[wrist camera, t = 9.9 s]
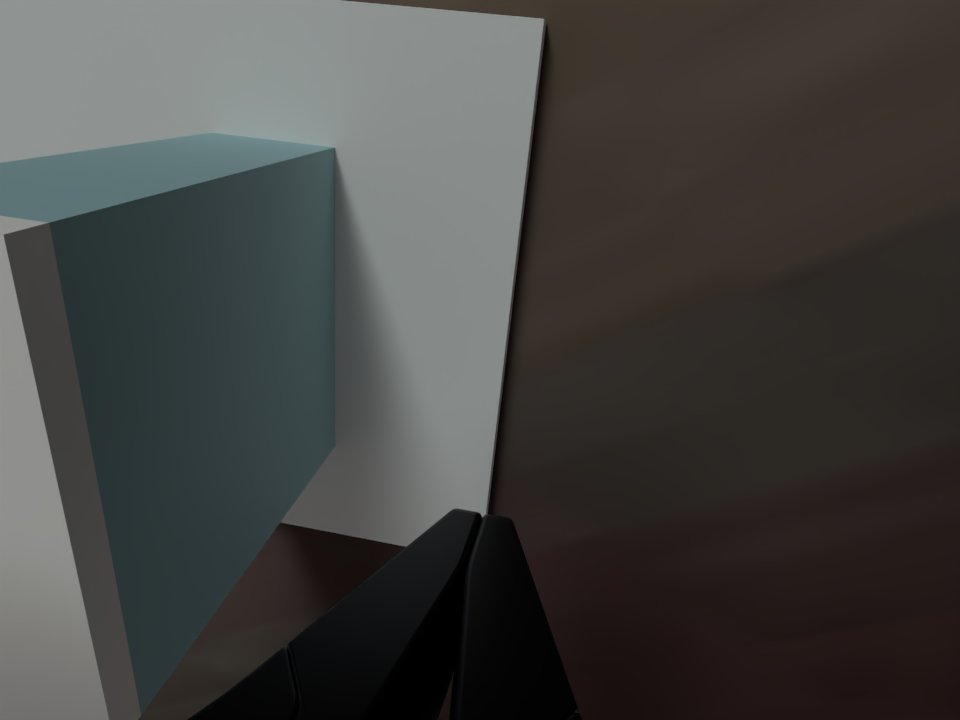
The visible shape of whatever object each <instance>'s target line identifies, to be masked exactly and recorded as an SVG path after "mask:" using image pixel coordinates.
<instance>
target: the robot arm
mask: <svg viewBox="0 0 960 720" xmlns="http://www.w3.org/2000/svg"><path fill="white" fill-rule="evenodd" d="M453 671H454V675H453ZM452 675H453V685H452V695H451V705H450V716H449V720H582V718H581V715H580V714H579V713H578V707H577V704H576V701H575V698H574V696H573V693H572V690H571V687H570V684H569V681H568V678H567V675H566V672H565V670H564V667H563V664H562V661H561V658H560V655H559V652H558V649H557V647H556V644H555V641H554V638H553V635H552V632H551V629H550V626H549V624H548V621H547V618H546V615H545V612H544V609H543V606H542V603H541V600H540V598H539V595H538V592H537V589H536V586H535V583H534V580H533V577H532V575H531V572H530V569H529V566H528V563H527V560H526V557H525V554H524V551H523V549H522V546H521V543H520V540H519V537H518V534H517V531H516V528H515V526H514V523H513V521H512V520H511V519H510V518H507V517H501V516H496V515H490V514H486V515H484V516H483V517H482V516H481V514H480V513H479V512H474V511H469V510H464V509H459V508H455V509H452V510H451V511H449V512H448V513H447V514H446V515H445V516H443V517H442V518H441V519H440V520H438V521H437V522H436V523H435V524H434V525H432V526H431V527H430V528H429V529H427V530H426V531H425V532H424V533H423V534H421V535H420V536H419V537H418V538H416V539H415V540H414V541H413V542H412V543H410V544H409V545H408V546H407V547H405V548H404V549H403V550H402V551H400V552H399V553H398V554H397V555H396V556H394V557H393V558H392V559H391V560H389V561H388V562H387V563H386V564H385V565H383V566H382V567H381V568H380V569H378V570H377V571H376V572H375V573H374V574H372V575H371V576H370V577H369V578H367V579H366V580H365V581H364V582H363V583H361V584H360V585H359V586H358V587H356V588H355V589H354V590H353V591H352V592H350V593H349V594H348V595H347V596H345V597H344V598H343V599H342V600H341V601H339V602H338V603H337V604H336V605H334V606H333V607H332V608H331V609H330V610H328V611H327V612H326V613H325V614H323V615H322V616H321V617H320V618H319V619H317V620H316V621H315V622H314V623H312V624H311V625H310V626H309V627H308V628H306V629H305V630H304V631H303V632H301V633H300V634H299V635H298V636H297V637H295V638H294V639H293V640H292V641H290V642H289V643H288V645H287V648H281V649H280V650H279V651H278V652H277V653H275V654H274V655H273V656H272V657H270V658H269V659H268V660H267V661H266V662H264V663H263V664H262V665H261V666H259V667H258V668H257V669H256V670H254V671H253V672H252V673H250V674H249V675H248V676H246V677H245V678H244V679H243V680H241V681H240V682H239V683H237V684H236V685H235V686H234V687H232V688H231V689H230V690H228V691H227V692H226V693H225V694H223V695H222V696H220V697H219V698H218V699H216V700H215V701H213V702H212V703H210V704H209V705H208V706H206V707H205V708H203V709H202V710H200V711H199V712H198V713H196V714H195V715H193V716H192V717H190V718H189V719H187V720H437V719H438V717H439V714H440V711H441V708H442V705H443V702H444V700H445V697H446V694H447V691H448V688H449V685H450V681H451V678H452Z"/></svg>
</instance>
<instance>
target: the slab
mask: <svg viewBox="0 0 960 720" xmlns="http://www.w3.org/2000/svg"><path fill="white" fill-rule="evenodd" d="M334 447H335V147H327V146H319V145H311V144H302V143H294V142H286V141H277V140H269V139H261V138H252V137H244V136H236V135H227V134H219V133H206V134H199V135H192V136H185V137H178V138H171V139H164V140H157V141H150V142H142V143H135V144H128V145H121V146H114V147H107V148H100V149H93V150H86V151H79V152H72V153H65V154H58V155H51V156H44V157H37V158H30V159H23V160H16V161H9V162H2V163H0V720H138V719H139V718H140V716H141V715H142V714H143V712H144V711H145V709H146V708H147V707H148V705H149V704H150V702H151V701H152V700H153V698H154V697H155V695H156V694H157V693H158V691H159V690H160V689H161V687H162V686H163V684H164V683H165V682H166V680H167V679H168V677H169V676H170V675H171V673H172V672H173V671H174V669H175V668H176V666H177V665H178V664H179V662H180V661H181V659H182V658H183V657H184V655H185V654H186V652H187V651H188V650H189V648H190V647H191V646H192V644H193V643H194V641H195V640H196V639H197V637H198V636H199V634H200V633H201V632H202V630H203V629H204V628H205V626H206V625H207V623H208V622H209V621H210V619H211V618H212V616H213V615H214V614H215V612H216V611H217V610H218V608H219V607H220V605H221V604H222V603H223V601H224V600H225V598H226V597H227V596H228V594H229V593H230V591H231V590H232V589H233V587H234V586H235V585H236V583H237V582H238V580H239V579H240V578H241V576H242V575H243V573H244V572H245V571H246V569H247V568H248V567H249V565H250V564H251V562H252V561H253V560H254V558H255V557H256V555H257V554H258V553H259V551H260V550H261V549H262V547H263V546H264V544H265V543H266V542H267V540H268V539H269V537H270V536H271V535H272V533H273V532H274V530H275V529H276V528H277V526H278V525H279V524H280V522H281V521H282V519H283V518H284V517H285V515H286V514H287V512H288V511H289V510H290V508H291V507H292V506H293V504H294V503H295V501H296V500H297V499H298V497H299V496H300V494H301V493H302V492H303V490H304V489H305V488H306V486H307V485H308V483H309V482H310V481H311V479H312V478H313V476H314V475H315V474H316V472H317V471H318V469H319V468H320V467H321V465H322V464H323V463H324V461H325V460H326V458H327V457H328V456H329V454H330V453H331V451H332V450H333V449H334Z"/></svg>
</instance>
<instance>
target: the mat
mask: <svg viewBox="0 0 960 720" xmlns="http://www.w3.org/2000/svg"><path fill="white" fill-rule="evenodd" d="M545 29H546V20H545V19H539V18H528V17H517V16H506V15H495V14H484V13H473V12H462V11H451V10H440V9H429V8H418V7H407V6H396V5H385V4H374V3H363V2H352V1H341V0H0V163H2V162H9V161H16V160H23V159H30V158H37V157H44V156H51V155H58V154H65V153H72V152H79V151H86V150H93V149H100V148H107V147H114V146H121V145H128V144H135V143H142V142H150V141H157V140H164V139H171V138H178V137H185V136H192V135H199V134H206V133H219V134H227V135H236V136H244V137H252V138H261V139H269V140H277V141H286V142H294V143H302V144H311V145H319V146H327V147H335V447H334V449H333V450H332V451H331V453H330V454H329V456H328V457H327V458H326V460H325V461H324V463H323V464H322V465H321V467H320V468H319V469H318V471H317V472H316V474H315V475H314V476H313V478H312V479H311V481H310V482H309V483H308V485H307V486H306V488H305V489H304V490H303V492H302V493H301V494H300V496H299V497H298V499H297V500H296V501H295V503H294V504H293V506H292V507H291V508H290V510H289V511H288V512H287V514H286V515H285V517H284V518H283V519H282V521H281V523H286V524H291V525H296V526H302V527H307V528H312V529H317V530H322V531H327V532H333V533H338V534H343V535H348V536H353V537H358V538H364V539H369V540H374V541H379V542H384V543H390V544H395V545H400V546H405V547H407V546H408V545H409V544H410V543H412V542H413V541H414V540H415V539H416V538H418V537H419V536H420V535H421V534H423V533H424V532H425V531H426V530H427V529H429V528H430V527H431V526H432V525H434V524H435V523H436V522H437V521H438V520H440V519H441V518H442V517H443V516H445V515H446V514H447V513H448V512H449V511H451V510H452V509H455V508H459V509H464V510H469V511H474V512H479V513H480V514H481V516H482V517H483V516H484V515H486V514H488V507H489V499H490V490H491V482H492V474H493V465H494V457H495V449H496V440H497V432H498V423H499V415H500V407H501V398H502V390H503V381H504V373H505V365H506V356H507V348H508V340H509V331H510V323H511V314H512V306H513V298H514V289H515V281H516V273H517V264H518V256H519V247H520V239H521V231H522V222H523V214H524V205H525V197H526V189H527V180H528V172H529V164H530V155H531V147H532V138H533V130H534V122H535V113H536V105H537V96H538V88H539V80H540V71H541V63H542V55H543V46H544V38H545Z"/></svg>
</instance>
